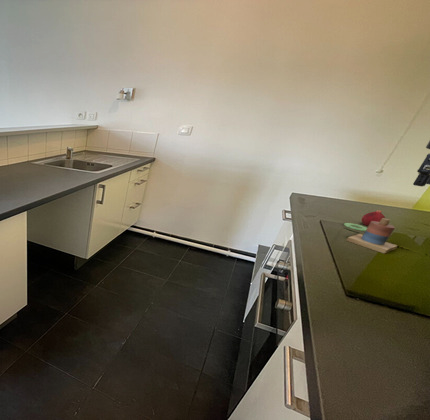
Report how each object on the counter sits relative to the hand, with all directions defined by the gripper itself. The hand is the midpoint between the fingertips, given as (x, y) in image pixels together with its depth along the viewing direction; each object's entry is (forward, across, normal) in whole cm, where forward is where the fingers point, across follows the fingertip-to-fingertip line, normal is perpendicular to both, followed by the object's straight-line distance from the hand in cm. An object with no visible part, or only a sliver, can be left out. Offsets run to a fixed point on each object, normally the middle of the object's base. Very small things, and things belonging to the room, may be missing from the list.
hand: (423, 184), depth 82 cm
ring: (+21, 0, +9) cm, 23 cm away
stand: (+21, -13, +1) cm, 25 cm away
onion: (+22, +9, +8) cm, 25 cm away
